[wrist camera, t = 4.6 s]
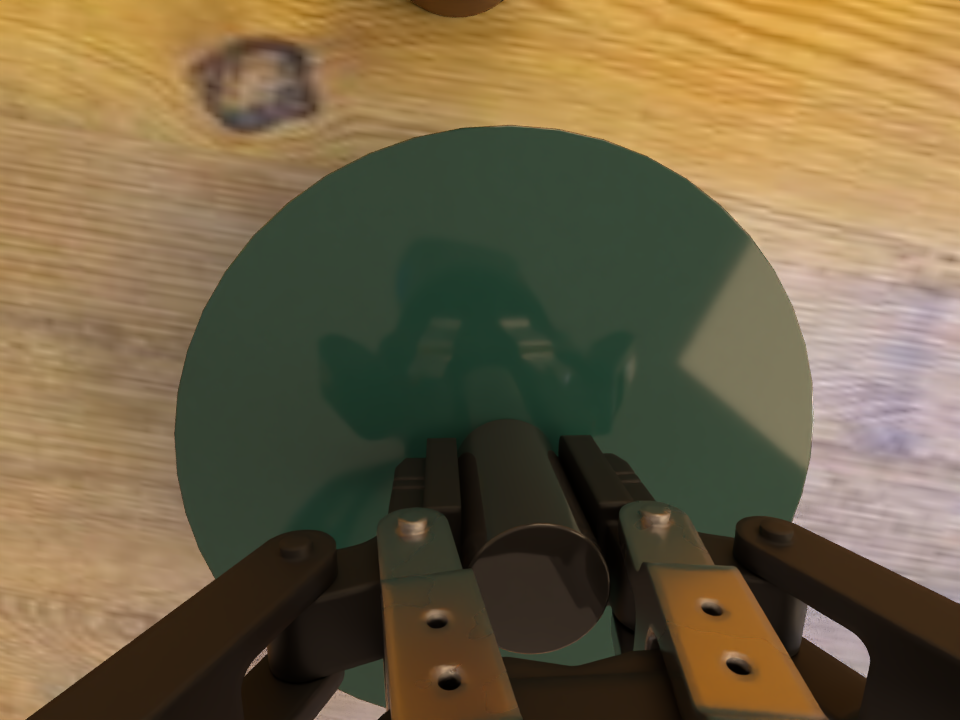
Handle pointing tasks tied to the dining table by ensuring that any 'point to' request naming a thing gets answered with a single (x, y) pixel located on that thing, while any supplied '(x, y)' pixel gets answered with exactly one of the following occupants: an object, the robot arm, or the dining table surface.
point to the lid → (494, 367)
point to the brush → (456, 6)
